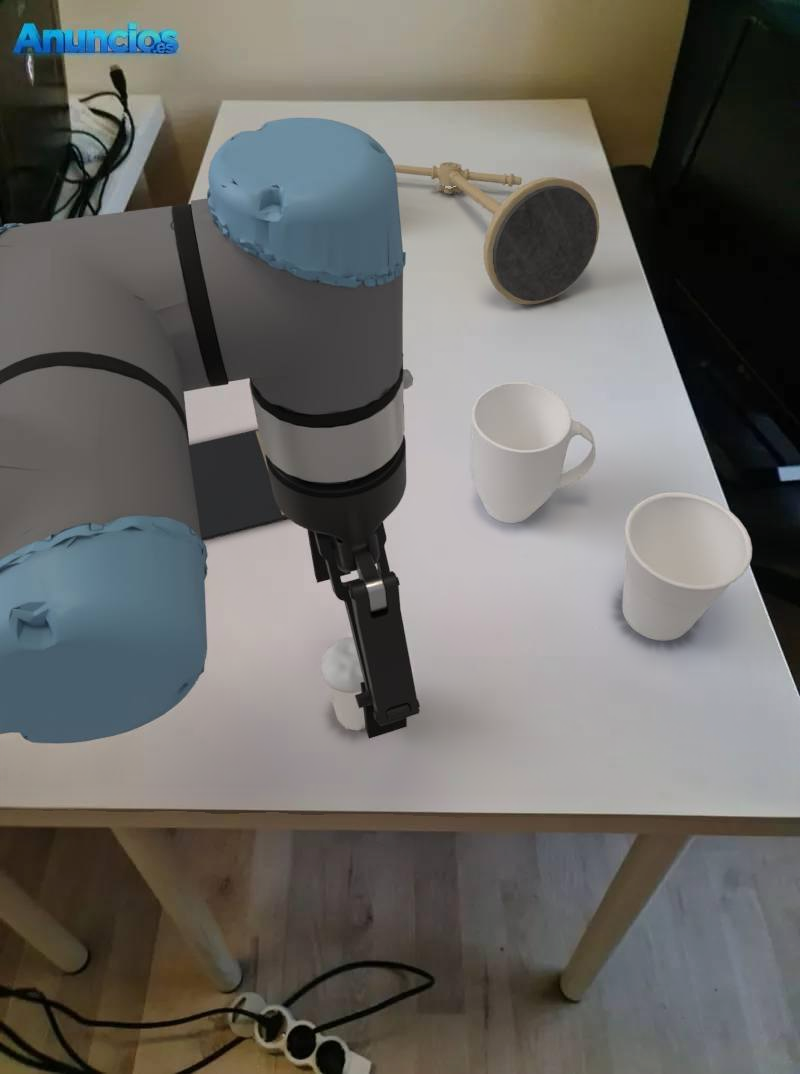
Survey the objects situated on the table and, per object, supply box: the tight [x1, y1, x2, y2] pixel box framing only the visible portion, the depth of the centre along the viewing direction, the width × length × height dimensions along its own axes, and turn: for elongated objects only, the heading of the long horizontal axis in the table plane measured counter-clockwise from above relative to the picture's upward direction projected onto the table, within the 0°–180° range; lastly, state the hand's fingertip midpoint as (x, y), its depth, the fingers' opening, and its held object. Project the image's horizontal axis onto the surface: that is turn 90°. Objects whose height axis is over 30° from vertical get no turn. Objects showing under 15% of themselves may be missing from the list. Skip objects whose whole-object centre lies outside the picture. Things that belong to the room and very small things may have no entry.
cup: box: [621, 491, 753, 642], centre depth 70 cm, size 10×10×11 cm
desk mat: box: [189, 428, 290, 541], centre depth 86 cm, size 20×13×1 cm, turn 108°
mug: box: [469, 381, 597, 524], centre depth 78 cm, size 12×9×12 cm
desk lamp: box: [394, 161, 600, 305], centre depth 110 cm, size 15×35×40 cm
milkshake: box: [320, 637, 366, 732], centre depth 65 cm, size 4×5×10 cm
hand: (357, 646), depth 60 cm, fingers open, 13 cm apart
